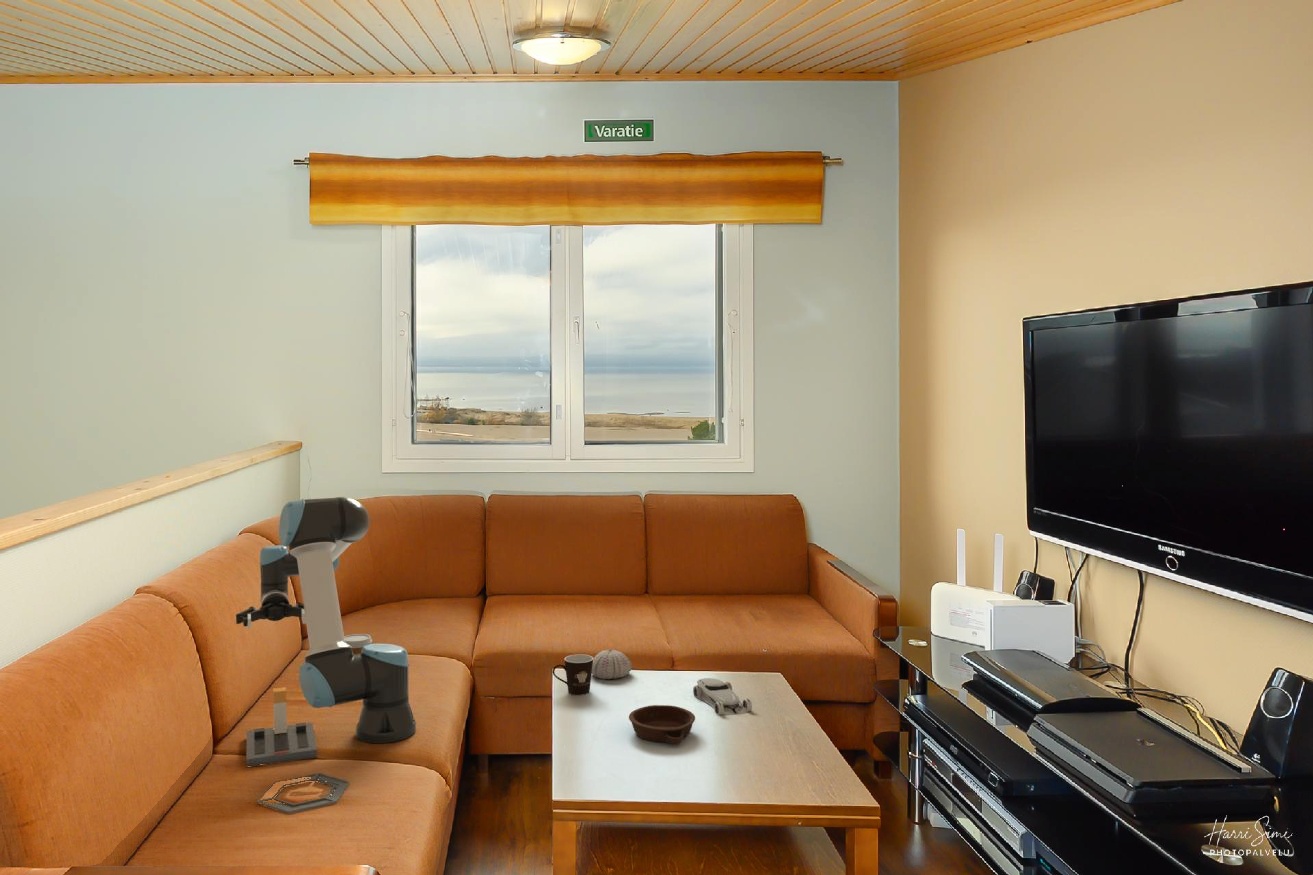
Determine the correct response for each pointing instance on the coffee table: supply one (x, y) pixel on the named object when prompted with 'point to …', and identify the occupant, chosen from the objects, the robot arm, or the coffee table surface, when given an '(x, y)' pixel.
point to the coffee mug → (577, 673)
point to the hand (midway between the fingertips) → (277, 621)
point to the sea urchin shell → (610, 665)
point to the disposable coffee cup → (358, 642)
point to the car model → (720, 697)
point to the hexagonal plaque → (338, 786)
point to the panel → (280, 745)
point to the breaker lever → (280, 710)
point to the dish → (662, 723)
